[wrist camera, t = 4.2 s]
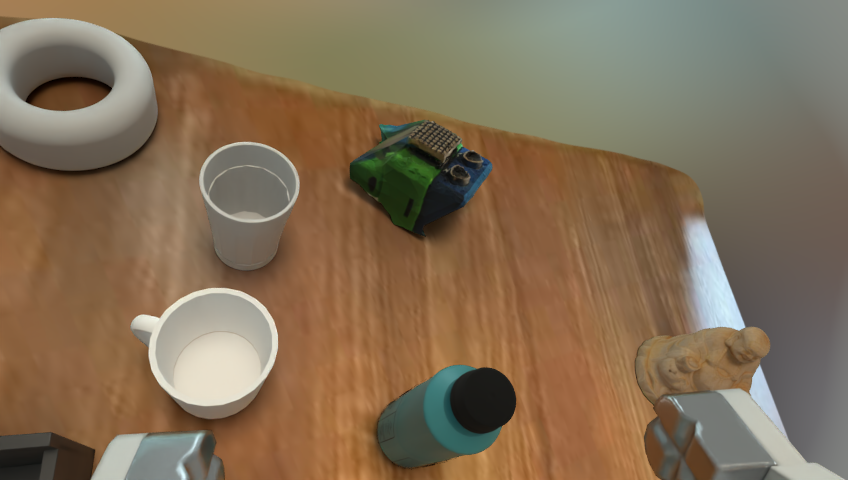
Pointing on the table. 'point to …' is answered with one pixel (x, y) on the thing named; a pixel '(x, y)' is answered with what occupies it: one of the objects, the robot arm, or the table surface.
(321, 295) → the table surface
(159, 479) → the robot arm
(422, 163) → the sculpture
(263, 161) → the cup
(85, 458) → the book rack
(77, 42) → the thick torus
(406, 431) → the beverage bottle
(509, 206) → the table surface
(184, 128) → the table surface
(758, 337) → the statue
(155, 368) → the mug
